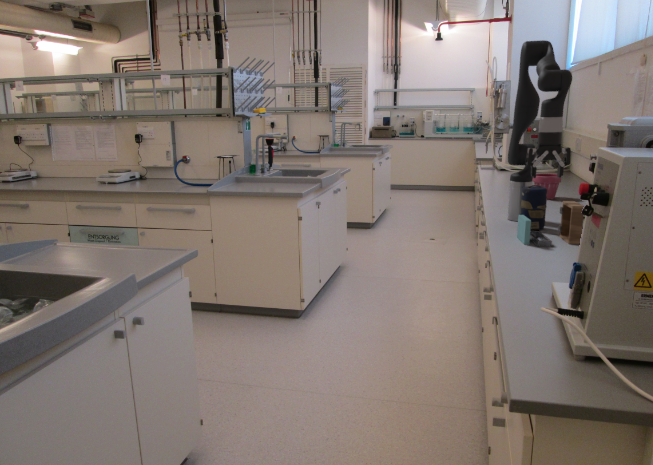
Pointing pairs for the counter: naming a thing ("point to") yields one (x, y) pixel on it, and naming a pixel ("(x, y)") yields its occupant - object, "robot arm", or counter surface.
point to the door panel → (524, 229)
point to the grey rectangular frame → (544, 240)
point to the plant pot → (548, 183)
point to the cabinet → (571, 222)
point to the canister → (534, 205)
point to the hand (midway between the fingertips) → (546, 177)
